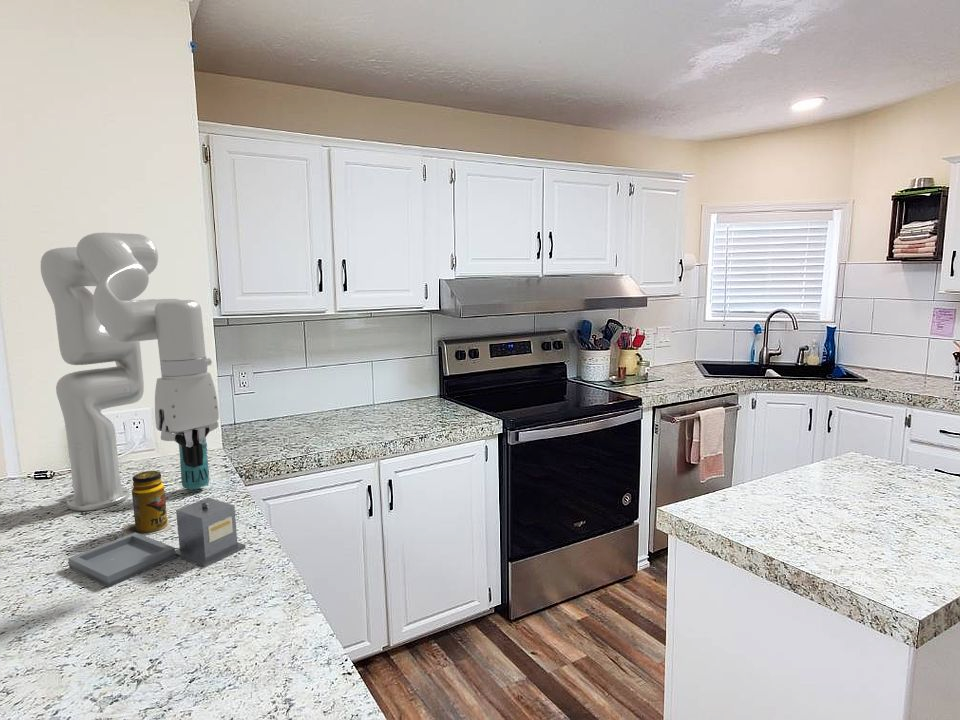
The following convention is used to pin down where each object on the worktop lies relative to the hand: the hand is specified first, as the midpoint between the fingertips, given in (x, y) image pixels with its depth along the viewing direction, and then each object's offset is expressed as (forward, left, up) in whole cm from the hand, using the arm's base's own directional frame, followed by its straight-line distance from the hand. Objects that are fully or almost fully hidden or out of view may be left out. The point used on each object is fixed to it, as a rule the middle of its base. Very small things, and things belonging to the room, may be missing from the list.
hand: (194, 465), depth 110 cm
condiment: (-22, +3, -19) cm, 29 cm away
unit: (-1, +3, -19) cm, 19 cm away
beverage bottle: (-33, +22, -19) cm, 44 cm away
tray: (-11, -8, -19) cm, 23 cm away
